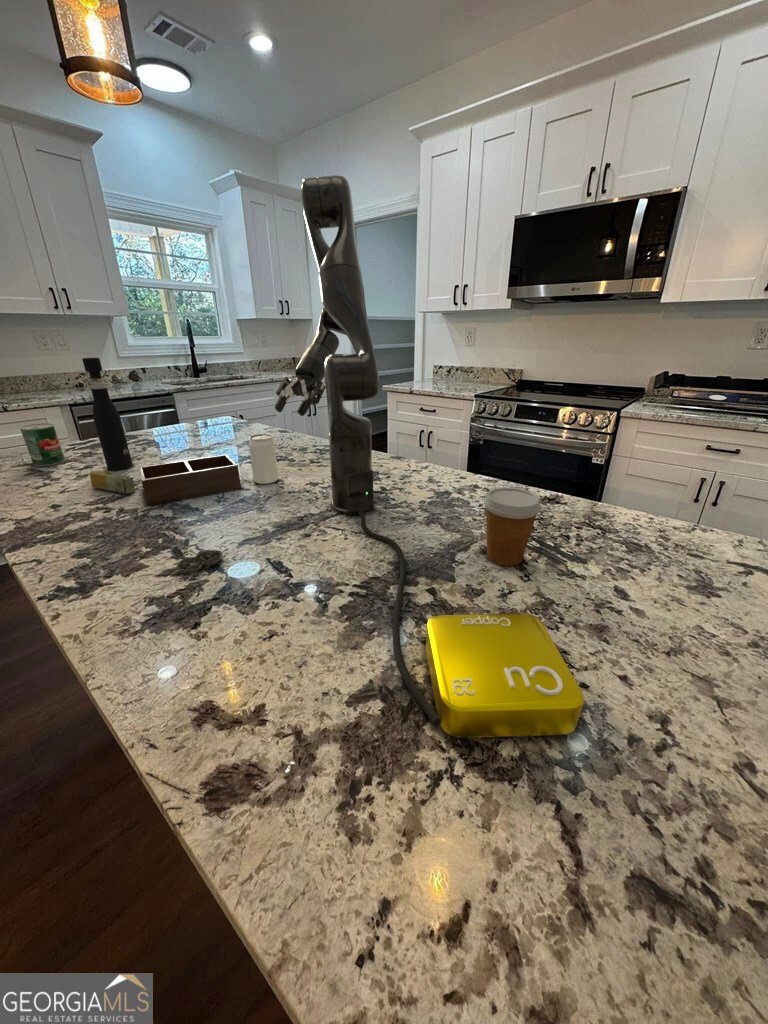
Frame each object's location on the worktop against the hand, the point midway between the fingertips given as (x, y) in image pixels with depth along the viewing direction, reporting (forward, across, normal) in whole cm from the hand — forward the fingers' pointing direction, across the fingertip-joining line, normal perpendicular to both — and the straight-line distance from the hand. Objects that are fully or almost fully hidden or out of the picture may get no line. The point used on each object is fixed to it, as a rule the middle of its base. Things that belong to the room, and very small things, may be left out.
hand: (288, 412), depth 113 cm
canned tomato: (+37, -66, -14) cm, 77 cm away
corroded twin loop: (+44, +23, -21) cm, 54 cm away
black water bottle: (+31, -44, -7) cm, 54 cm away
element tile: (+42, +75, -19) cm, 88 cm away
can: (+19, 0, +4) cm, 20 cm away
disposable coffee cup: (+22, +67, +2) cm, 70 cm away
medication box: (+38, -26, -14) cm, 48 cm away
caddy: (+30, -10, -6) cm, 32 cm away
